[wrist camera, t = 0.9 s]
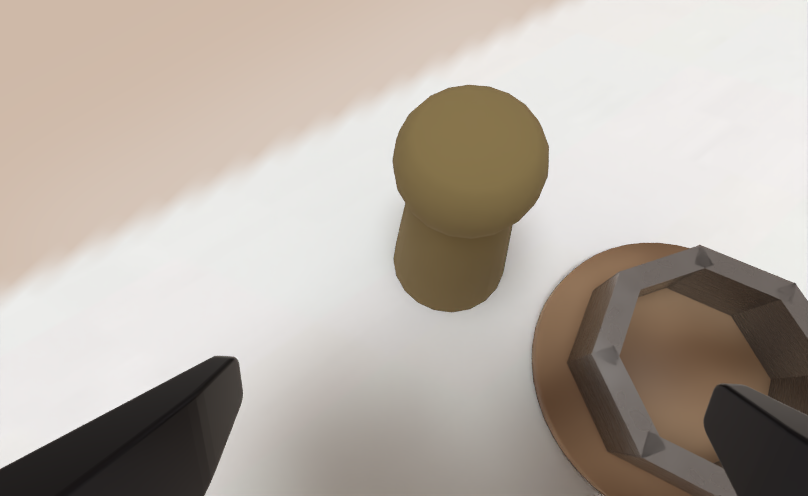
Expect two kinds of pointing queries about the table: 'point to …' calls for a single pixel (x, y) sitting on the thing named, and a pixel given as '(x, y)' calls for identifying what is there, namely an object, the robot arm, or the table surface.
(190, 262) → the table surface
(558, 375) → the coupling socket
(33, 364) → the table surface
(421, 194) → the cork
